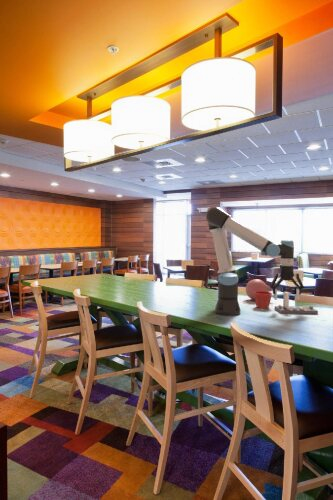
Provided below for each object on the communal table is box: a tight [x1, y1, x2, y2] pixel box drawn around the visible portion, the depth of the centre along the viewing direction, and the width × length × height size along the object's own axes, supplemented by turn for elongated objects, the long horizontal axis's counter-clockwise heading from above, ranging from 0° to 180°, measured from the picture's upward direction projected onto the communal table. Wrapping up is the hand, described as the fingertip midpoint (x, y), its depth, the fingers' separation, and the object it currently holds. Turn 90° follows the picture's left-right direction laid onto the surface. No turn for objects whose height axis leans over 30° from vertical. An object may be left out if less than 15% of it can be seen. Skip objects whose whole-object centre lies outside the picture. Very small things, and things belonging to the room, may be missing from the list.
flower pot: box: [254, 291, 273, 309], centre depth 217 cm, size 11×11×10 cm
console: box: [274, 304, 319, 315], centre depth 204 cm, size 22×12×4 cm, turn 89°
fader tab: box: [282, 291, 290, 308], centre depth 204 cm, size 3×4×10 cm
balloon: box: [245, 278, 273, 301], centre depth 240 cm, size 15×20×15 cm
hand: (286, 299), depth 204 cm, fingers open, 13 cm apart
